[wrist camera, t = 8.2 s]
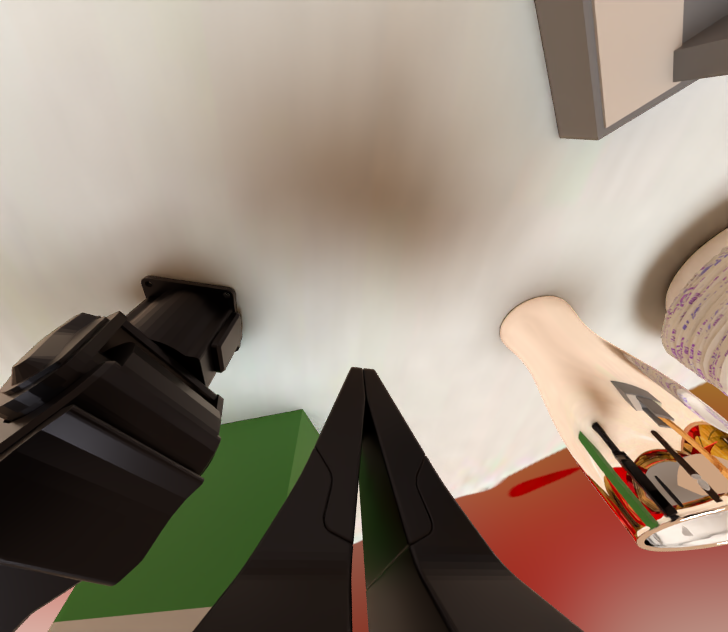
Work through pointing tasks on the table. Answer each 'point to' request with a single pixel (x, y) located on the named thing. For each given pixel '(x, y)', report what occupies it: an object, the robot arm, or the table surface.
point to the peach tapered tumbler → (628, 428)
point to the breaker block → (626, 56)
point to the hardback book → (202, 534)
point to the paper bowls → (700, 313)
